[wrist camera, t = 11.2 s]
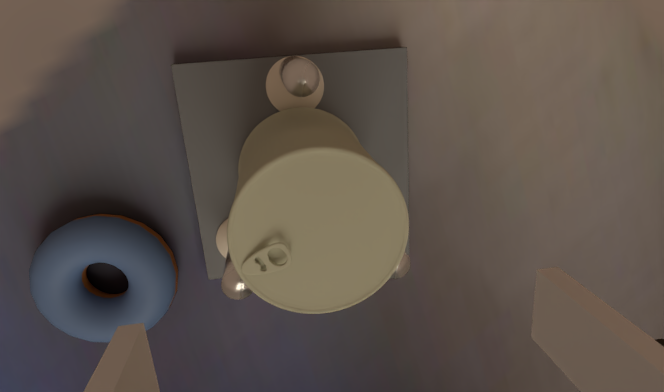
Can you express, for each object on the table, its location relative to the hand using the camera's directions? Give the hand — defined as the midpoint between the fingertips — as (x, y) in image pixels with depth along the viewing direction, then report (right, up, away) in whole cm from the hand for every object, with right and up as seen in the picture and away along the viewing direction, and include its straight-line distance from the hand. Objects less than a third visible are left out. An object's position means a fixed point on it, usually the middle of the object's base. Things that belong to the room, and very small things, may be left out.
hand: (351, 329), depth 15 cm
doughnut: (-17, -1, +20) cm, 27 cm away
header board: (-3, +7, +19) cm, 21 cm away
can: (-3, +6, +18) cm, 20 cm away
